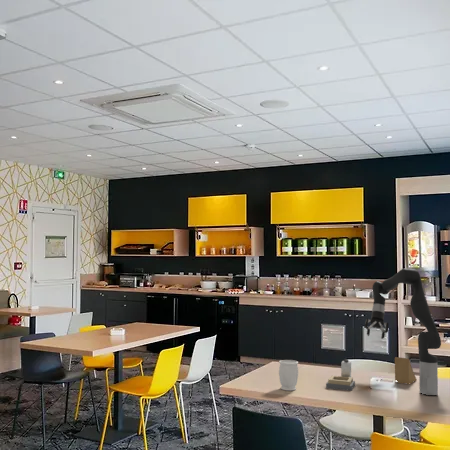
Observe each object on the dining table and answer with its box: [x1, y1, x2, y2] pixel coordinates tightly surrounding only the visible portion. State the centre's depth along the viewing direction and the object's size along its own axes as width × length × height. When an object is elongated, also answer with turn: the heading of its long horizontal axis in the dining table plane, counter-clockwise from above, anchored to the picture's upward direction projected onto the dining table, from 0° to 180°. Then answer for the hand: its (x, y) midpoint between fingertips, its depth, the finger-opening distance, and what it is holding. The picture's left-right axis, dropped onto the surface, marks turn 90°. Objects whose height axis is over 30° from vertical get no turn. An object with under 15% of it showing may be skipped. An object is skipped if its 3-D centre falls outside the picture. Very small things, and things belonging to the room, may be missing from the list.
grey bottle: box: [340, 359, 352, 377], centre depth 313 cm, size 5×5×13 cm
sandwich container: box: [394, 356, 417, 385], centre depth 321 cm, size 9×15×15 cm, turn 143°
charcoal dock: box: [325, 375, 356, 392], centre depth 302 cm, size 14×14×4 cm
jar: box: [278, 359, 299, 392], centre depth 294 cm, size 11×10×15 cm
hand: (375, 337), depth 335 cm, fingers open, 8 cm apart
